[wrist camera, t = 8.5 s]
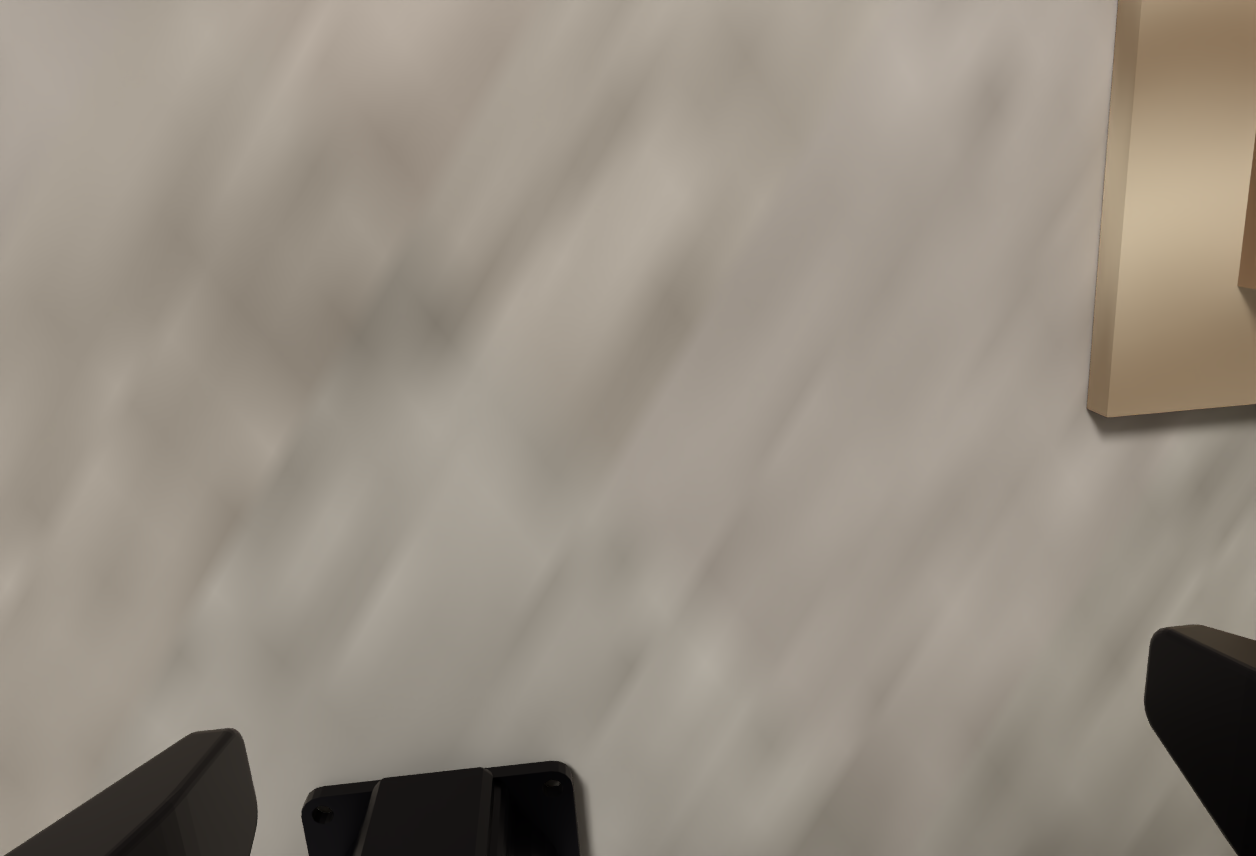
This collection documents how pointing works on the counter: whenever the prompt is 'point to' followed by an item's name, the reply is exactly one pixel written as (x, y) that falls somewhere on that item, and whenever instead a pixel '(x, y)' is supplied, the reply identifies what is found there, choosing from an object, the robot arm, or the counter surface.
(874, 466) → the counter surface
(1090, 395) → the well
